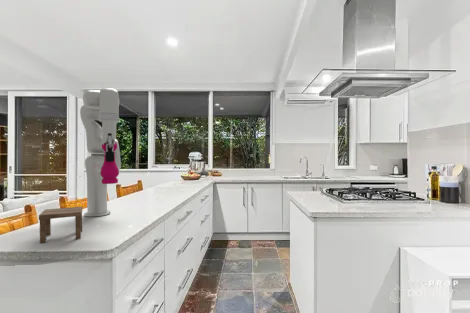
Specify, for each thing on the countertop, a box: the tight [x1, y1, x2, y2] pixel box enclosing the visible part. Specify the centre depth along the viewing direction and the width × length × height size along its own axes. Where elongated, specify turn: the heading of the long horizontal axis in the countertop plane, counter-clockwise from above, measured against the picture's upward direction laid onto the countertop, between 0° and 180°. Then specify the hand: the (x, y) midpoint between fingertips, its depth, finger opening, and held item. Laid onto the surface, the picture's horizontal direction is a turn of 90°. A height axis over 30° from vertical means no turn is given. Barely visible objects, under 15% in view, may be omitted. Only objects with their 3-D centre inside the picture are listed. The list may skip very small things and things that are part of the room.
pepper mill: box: [100, 141, 120, 185], centre depth 119 cm, size 7×7×20 cm
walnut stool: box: [38, 206, 83, 244], centre depth 108 cm, size 13×13×10 cm
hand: (109, 160), depth 119 cm, fingers closed on pepper mill, 5 cm apart
